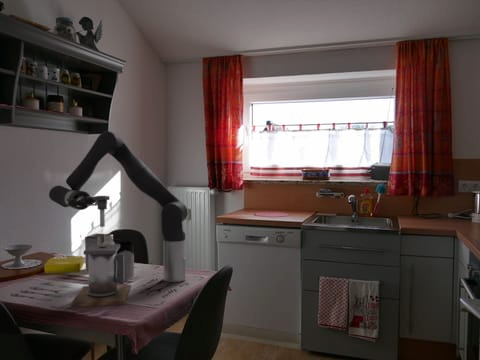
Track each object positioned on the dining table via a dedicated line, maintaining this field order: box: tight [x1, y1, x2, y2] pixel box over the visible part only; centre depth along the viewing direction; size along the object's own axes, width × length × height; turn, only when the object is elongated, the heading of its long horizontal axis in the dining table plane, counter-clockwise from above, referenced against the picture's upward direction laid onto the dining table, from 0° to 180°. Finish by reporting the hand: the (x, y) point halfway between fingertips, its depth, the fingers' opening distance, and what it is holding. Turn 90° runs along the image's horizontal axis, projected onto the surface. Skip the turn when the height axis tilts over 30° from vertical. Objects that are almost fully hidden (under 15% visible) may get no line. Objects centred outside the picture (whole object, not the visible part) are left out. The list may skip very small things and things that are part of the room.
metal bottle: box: [102, 233, 116, 244], centre depth 169 cm, size 6×7×20 cm
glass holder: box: [115, 241, 136, 282], centre depth 179 cm, size 9×14×15 cm, turn 20°
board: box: [71, 284, 132, 308], centre depth 152 cm, size 18×18×2 cm
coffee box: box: [84, 233, 106, 273], centre depth 188 cm, size 9×6×16 cm
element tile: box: [44, 255, 84, 275], centre depth 190 cm, size 15×15×5 cm
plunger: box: [94, 195, 110, 228], centre depth 150 cm, size 5×5×11 cm
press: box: [83, 243, 125, 298], centre depth 151 cm, size 13×11×17 cm
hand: (95, 203), depth 154 cm, fingers open, 8 cm apart
